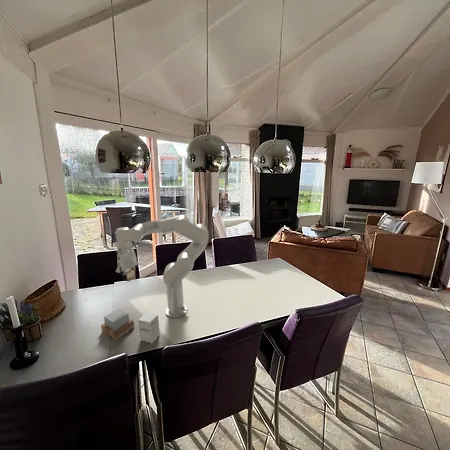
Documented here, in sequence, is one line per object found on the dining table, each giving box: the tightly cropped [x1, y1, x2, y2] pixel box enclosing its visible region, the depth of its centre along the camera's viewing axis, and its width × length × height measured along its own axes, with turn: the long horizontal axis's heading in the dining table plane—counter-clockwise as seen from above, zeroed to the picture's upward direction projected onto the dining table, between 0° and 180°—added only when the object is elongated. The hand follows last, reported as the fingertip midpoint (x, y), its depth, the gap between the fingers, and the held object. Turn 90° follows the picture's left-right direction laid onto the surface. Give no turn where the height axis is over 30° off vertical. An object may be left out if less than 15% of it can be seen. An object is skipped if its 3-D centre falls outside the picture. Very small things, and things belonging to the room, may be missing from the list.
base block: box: [100, 318, 135, 341], centre depth 142 cm, size 12×12×5 cm
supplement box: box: [137, 312, 161, 344], centre depth 134 cm, size 7×7×13 cm
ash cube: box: [126, 268, 136, 283], centre depth 150 cm, size 5×5×5 cm
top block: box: [103, 308, 130, 330], centre depth 141 cm, size 9×9×5 cm
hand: (129, 278), depth 150 cm, fingers closed on ash cube, 5 cm apart
